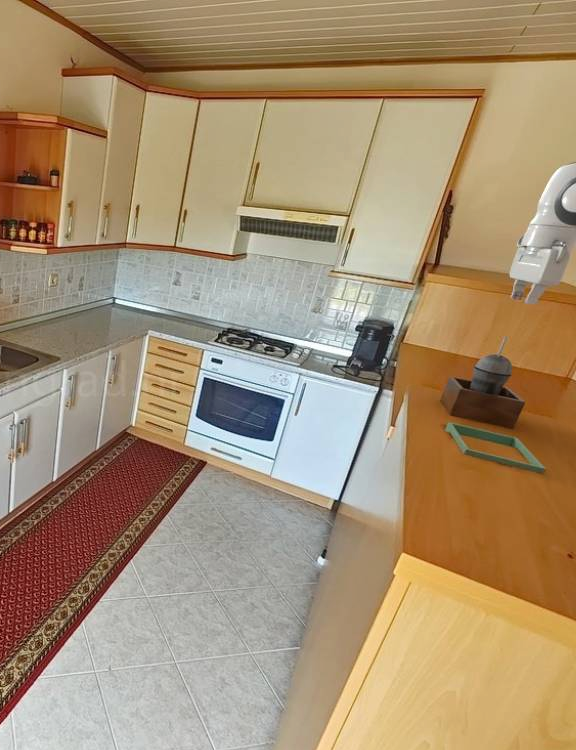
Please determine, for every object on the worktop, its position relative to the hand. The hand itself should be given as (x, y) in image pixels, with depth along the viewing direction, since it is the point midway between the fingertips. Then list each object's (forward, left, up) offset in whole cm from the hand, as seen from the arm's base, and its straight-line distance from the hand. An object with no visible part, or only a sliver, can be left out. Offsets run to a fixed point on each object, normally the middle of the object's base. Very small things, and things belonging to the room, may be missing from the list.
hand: (522, 301), depth 114 cm
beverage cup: (0, 0, -29) cm, 29 cm away
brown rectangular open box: (0, 0, -29) cm, 29 cm away
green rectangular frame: (+4, +30, -29) cm, 42 cm away
